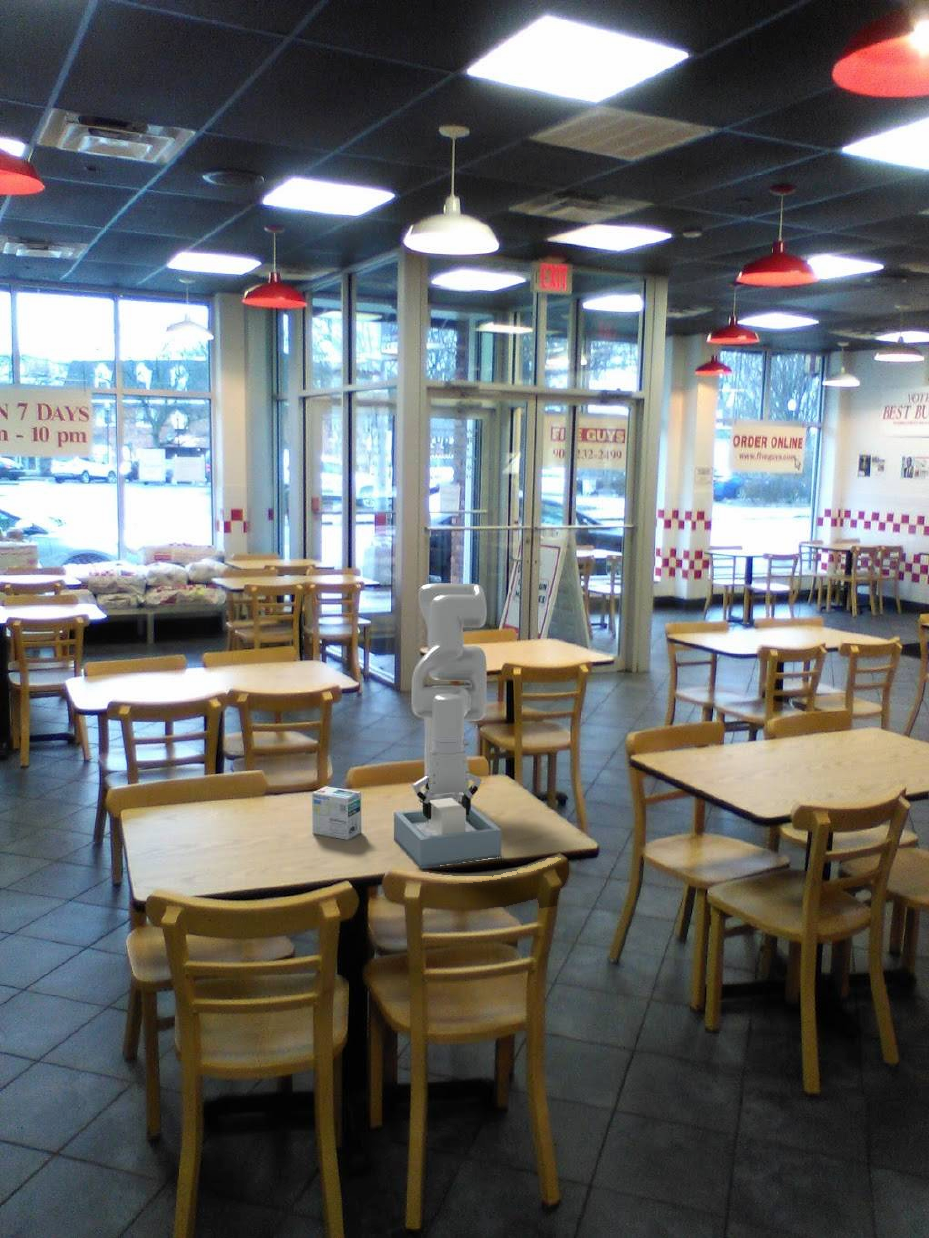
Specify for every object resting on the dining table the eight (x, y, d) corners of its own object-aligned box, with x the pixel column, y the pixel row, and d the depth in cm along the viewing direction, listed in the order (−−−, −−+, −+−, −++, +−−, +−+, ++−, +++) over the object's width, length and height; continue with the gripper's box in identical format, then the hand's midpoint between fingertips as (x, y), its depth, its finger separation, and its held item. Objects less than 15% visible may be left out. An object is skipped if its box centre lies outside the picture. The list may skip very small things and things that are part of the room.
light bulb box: (362, 832, 268) (362, 790, 266) (348, 841, 262) (348, 798, 260) (325, 825, 273) (325, 784, 271) (311, 833, 267) (311, 792, 265)
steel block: (412, 838, 261) (412, 823, 261) (461, 832, 266) (461, 817, 265) (429, 857, 249) (430, 841, 249) (481, 850, 254) (481, 834, 253)
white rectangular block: (428, 824, 260) (428, 800, 259) (451, 821, 262) (451, 797, 261) (441, 836, 252) (442, 812, 251) (465, 833, 254) (465, 809, 253)
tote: (393, 839, 263) (394, 812, 262) (469, 830, 271) (469, 803, 270) (420, 869, 245) (420, 839, 244) (500, 858, 252) (501, 829, 251)
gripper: (475, 739, 261) (474, 806, 263) (408, 745, 254) (407, 814, 257) (487, 747, 254) (486, 816, 256) (418, 753, 247) (417, 824, 250)
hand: (446, 815), depth 257 cm, fingers open, 9 cm apart
